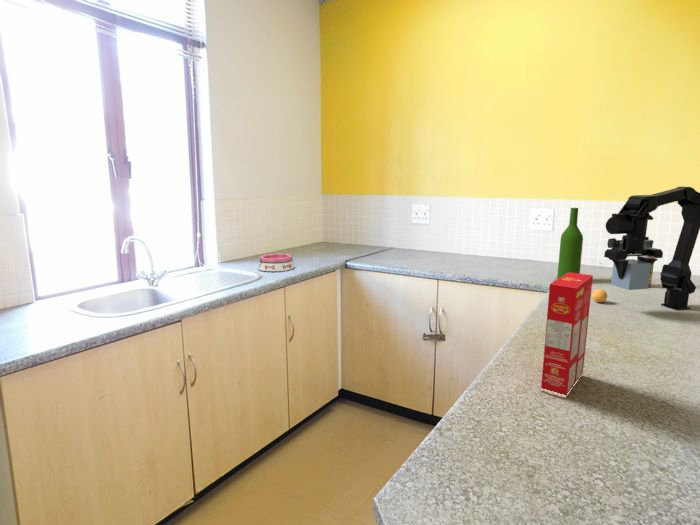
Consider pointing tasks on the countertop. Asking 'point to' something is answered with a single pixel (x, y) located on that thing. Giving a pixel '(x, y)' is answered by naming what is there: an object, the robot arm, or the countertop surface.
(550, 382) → the food packaging
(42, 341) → the countertop surface
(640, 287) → the grey-blue cube
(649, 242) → the sauce bottle
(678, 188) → the robot arm
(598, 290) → the ball
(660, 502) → the countertop surface
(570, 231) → the wine bottle
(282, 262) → the dog bowl
